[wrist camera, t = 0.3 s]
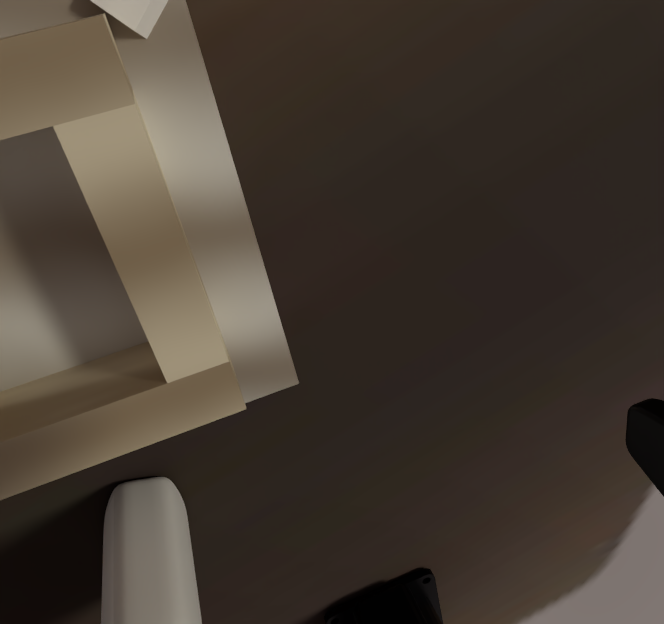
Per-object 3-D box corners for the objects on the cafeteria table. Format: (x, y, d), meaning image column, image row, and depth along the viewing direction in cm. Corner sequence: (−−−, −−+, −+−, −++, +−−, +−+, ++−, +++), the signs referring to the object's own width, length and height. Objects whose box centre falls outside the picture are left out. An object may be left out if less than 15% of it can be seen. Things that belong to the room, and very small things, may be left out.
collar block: (292, 370, 24) (320, 429, 21) (-60, 498, 22) (-92, 587, 19) (156, -87, 16) (166, -110, 13) (-429, 40, 14) (-607, 51, 10)
